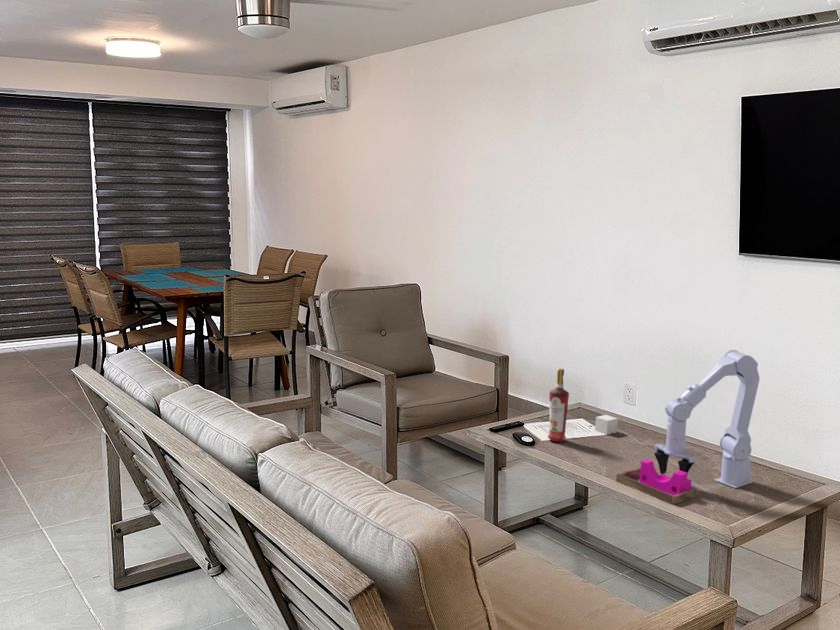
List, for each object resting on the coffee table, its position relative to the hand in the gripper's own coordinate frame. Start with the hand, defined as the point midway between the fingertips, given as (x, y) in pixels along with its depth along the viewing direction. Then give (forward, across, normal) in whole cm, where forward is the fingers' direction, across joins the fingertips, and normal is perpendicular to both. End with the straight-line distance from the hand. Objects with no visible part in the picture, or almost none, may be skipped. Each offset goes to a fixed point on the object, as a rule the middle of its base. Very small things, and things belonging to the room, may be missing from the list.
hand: (672, 476), depth 251 cm
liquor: (+3, -52, -1) cm, 53 cm away
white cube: (+3, -50, +24) cm, 56 cm away
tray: (+2, 0, -9) cm, 9 cm away
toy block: (+3, +1, -5) cm, 6 cm away
